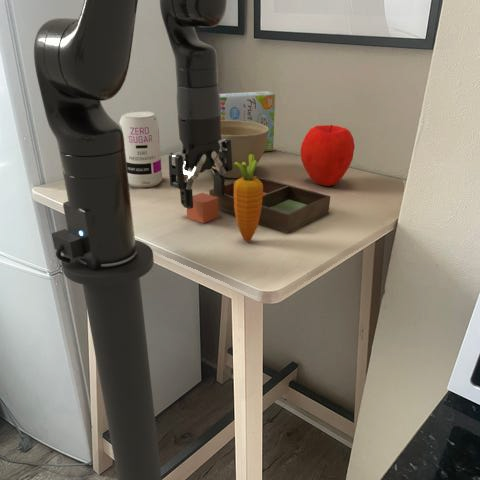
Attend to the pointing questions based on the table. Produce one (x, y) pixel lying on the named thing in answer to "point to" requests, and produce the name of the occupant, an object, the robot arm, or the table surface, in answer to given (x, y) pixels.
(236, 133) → the planter bowl
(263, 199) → the sorting tray
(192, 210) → the terracotta block
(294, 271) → the table surface
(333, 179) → the apple
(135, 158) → the supplement can
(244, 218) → the carrot
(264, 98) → the snack box
